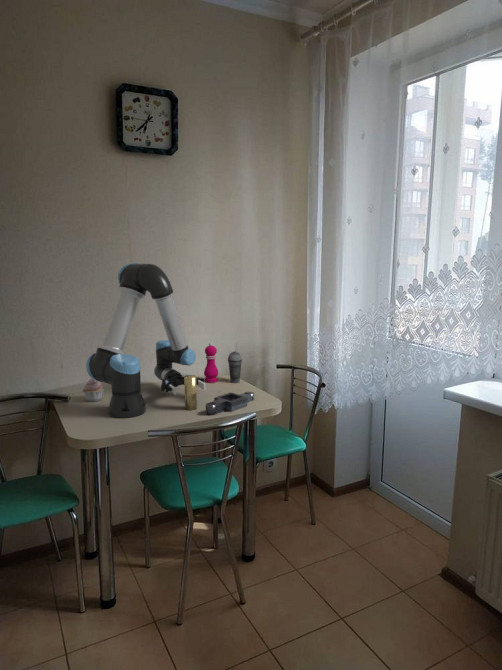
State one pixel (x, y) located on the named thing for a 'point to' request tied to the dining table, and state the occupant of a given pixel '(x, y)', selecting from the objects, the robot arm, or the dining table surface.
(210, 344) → the pepper mill
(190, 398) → the gold tall cylinder
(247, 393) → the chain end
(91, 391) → the cupcake
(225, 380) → the dining table surface
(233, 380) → the beverage cup
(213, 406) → the chain end
